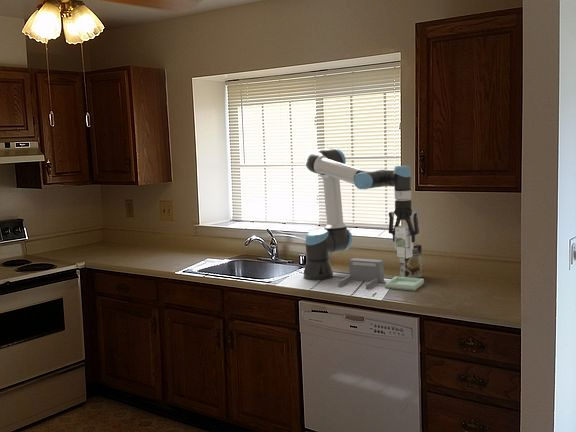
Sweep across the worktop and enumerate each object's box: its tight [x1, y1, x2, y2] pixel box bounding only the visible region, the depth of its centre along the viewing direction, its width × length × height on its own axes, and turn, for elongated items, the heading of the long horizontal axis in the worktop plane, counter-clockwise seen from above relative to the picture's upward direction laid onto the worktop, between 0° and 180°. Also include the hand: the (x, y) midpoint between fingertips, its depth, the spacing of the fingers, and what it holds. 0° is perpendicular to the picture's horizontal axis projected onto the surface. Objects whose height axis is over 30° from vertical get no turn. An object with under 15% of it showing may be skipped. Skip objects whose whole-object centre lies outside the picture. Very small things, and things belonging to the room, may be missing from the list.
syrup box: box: [395, 225, 413, 259], centre depth 282 cm, size 6×6×14 cm
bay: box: [337, 257, 385, 290], centre depth 293 cm, size 16×19×10 cm
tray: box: [384, 276, 425, 292], centre depth 285 cm, size 14×14×2 cm
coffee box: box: [399, 243, 423, 278], centre depth 301 cm, size 9×6×16 cm
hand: (404, 248), depth 282 cm, fingers closed on syrup box, 6 cm apart
